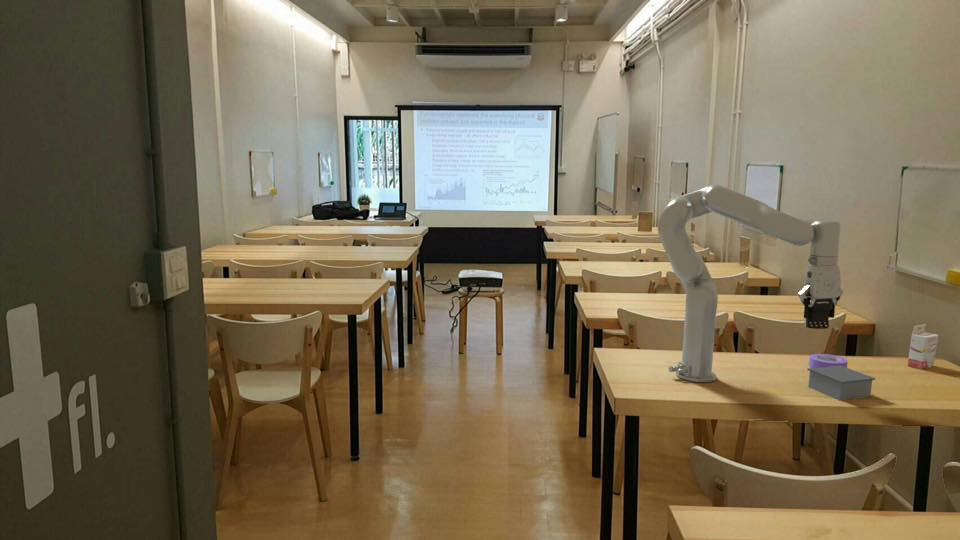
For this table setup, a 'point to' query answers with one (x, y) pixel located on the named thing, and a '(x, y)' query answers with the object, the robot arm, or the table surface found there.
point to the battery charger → (820, 314)
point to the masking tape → (826, 361)
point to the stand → (840, 382)
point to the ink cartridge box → (922, 348)
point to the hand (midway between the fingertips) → (818, 317)
